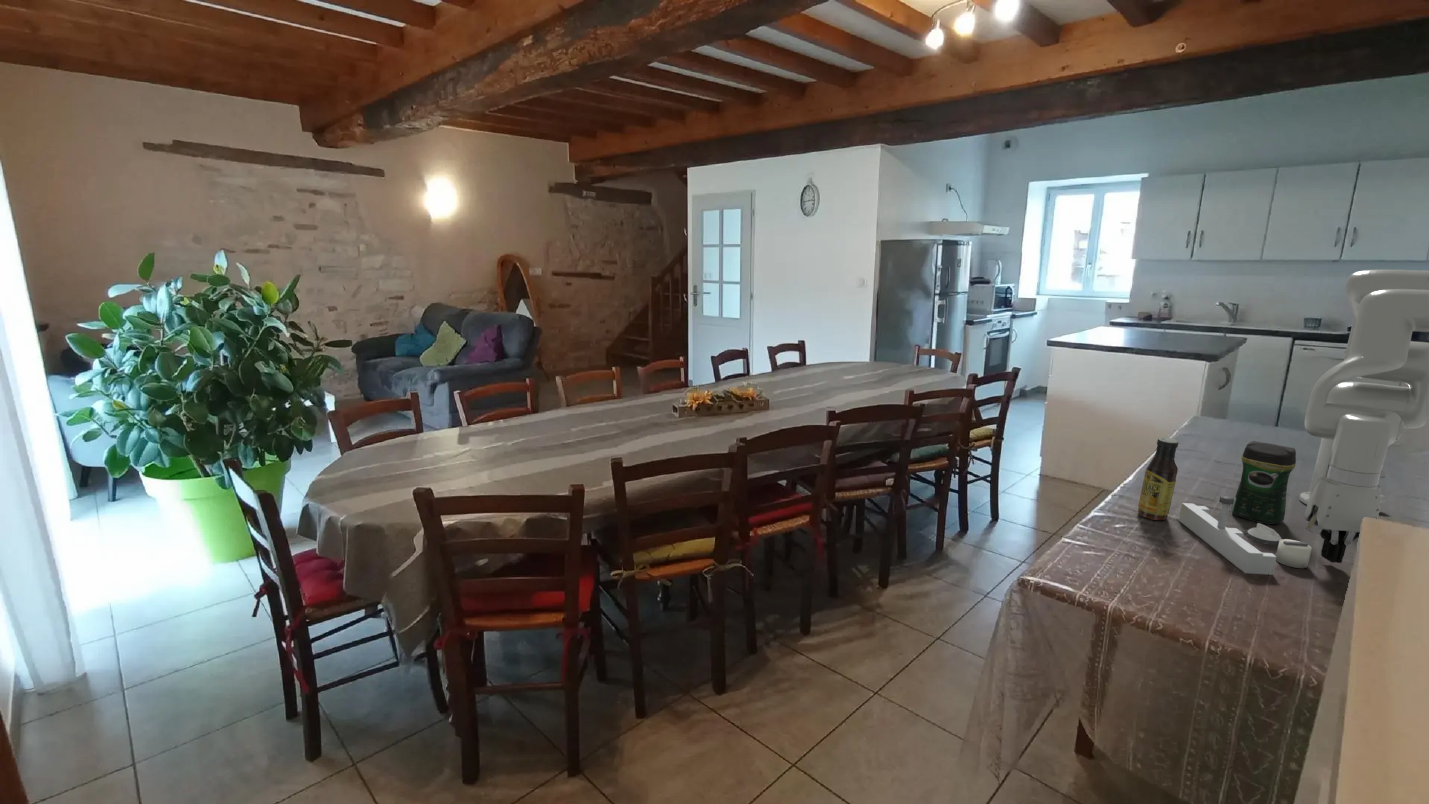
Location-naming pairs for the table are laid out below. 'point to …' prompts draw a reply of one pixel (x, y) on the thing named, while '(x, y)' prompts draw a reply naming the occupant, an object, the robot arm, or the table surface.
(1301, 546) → the knob slider
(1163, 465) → the sauce bottle
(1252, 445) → the coffee jar
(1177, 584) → the table surface
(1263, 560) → the mount
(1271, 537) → the stove knob
